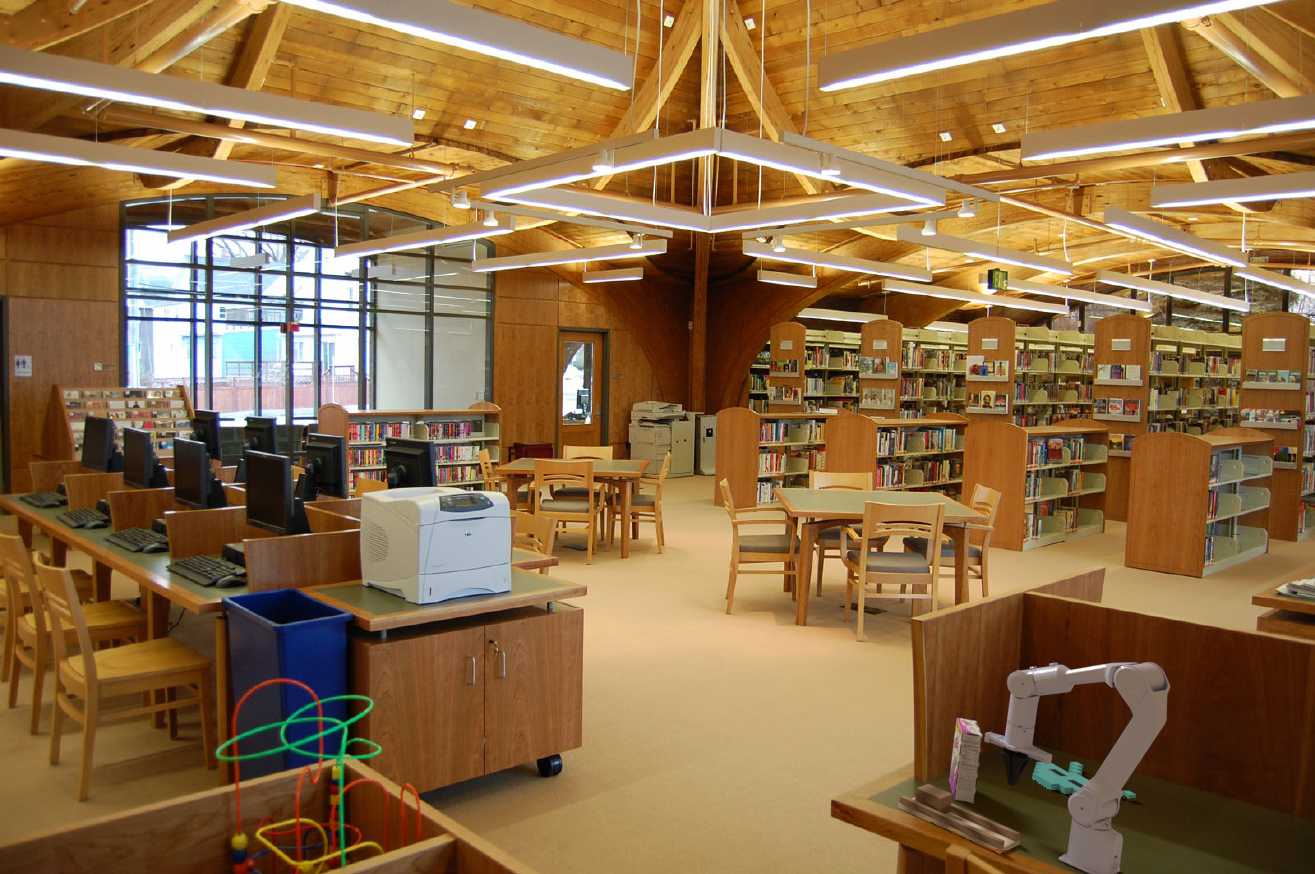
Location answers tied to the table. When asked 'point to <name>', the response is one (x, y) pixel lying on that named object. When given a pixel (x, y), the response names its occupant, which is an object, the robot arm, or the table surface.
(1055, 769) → the alien figure
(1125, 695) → the robot arm
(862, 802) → the table surface
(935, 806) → the walnut block
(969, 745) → the candy bar box
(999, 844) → the chute
